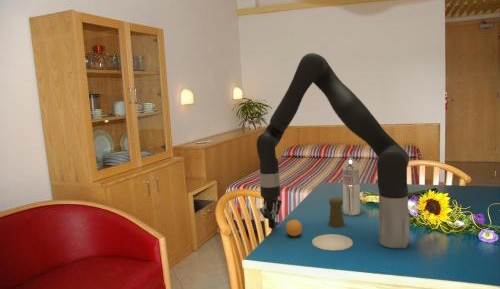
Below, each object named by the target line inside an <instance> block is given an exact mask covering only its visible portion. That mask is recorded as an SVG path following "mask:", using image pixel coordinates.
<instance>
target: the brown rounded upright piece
mask: <svg viewBox="0 0 500 289" xmlns="http://www.w3.org/2000/svg"><path fill="white" fill-rule="evenodd" d="M328 204H329V206H330V208H329V209H330V210H329V219H328V226H329V227H331V228H343V227H344V226H345V220H344V215H343V214H344V213H343V208H342V206H343V198H341V197H338V196H333V197H331V198H329V200H328Z"/></svg>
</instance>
